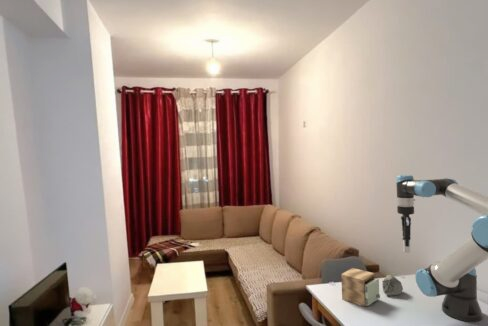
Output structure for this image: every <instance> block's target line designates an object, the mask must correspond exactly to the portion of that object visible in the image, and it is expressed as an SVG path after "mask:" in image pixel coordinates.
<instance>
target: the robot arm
mask: <svg viewBox="0 0 488 326" xmlns="http://www.w3.org/2000/svg"><path fill="white" fill-rule="evenodd" d="M395 184H396V205H397V207H396V208H397V209H396V211H397V214H399V215H402V216H400V219H401V226H402V227H401V229H402V230H401V231H402V238H401V239H402V241H403V253H407V254H408V253H411V228H412V227H411V226H412V225H411V224H412V222H411V221H412V218H411V216H410V215H414V214H415V207H414V206H415V202H416V199H415V198H414V197H420V198H432V197H433V196H443V197H445V198H447V199H449V200H452V201H453V202H455V203H458V204H460V205H462V206H463V207H464V206H465V207H466V208H468V209H469V210H472V211H474V212H476V213H478V214H481V216H479V217H477V218H476V219H475V220H474V221H473V223H472V226H471V227H472V229H471V230H470V236H471V237H469V238H468V239H467V240H465V242H463V243H462V244H461V245H459V246H458V247H457V248H455V250H453V251H452V252H451V253H450V254H449V255H447V256H446V257H445V258H444V259H442V260H441V261H437V260H436V261H434V262H432V263H431V264H429V266H428V267H425V268H420V269H418V270H417V271H416V272H415V274H414V275H415V282H416V284H417V287H418V289H419V290H420V292H421V293H422V294H424V295H425V296H427V297H430V298H431V297H434V298H435V297H440V296H444V298H443V301H442V302H441V310H442V312H443V313H444V314H445V315H447V316H448V317H450V318H453V319H455V320H459V321H464V322H470V323H471V322H473V323H474V322H479V321H482V319H483V311H482V309H481V306H480V304H479V301H478V290H477V289H478V284H477V283H478V282H477V279H478V278H477V270H476V268H477V267H478V266H479V265H481V264H482V263H484V262H485V261H486V260H488V196H486V195H485V194H482V193H480V192H477V191H474V190H472V189H470V188H468V187H465V186H463V185H460V184H459V183H458V182H457V181H456V180H455V179H454V178H447V177H446V178H438V179H437V178H436V179H420V180H417V179H414V176H413V175H412V174H398V175H397V176H396V182H395Z"/></svg>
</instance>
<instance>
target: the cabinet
mask: <svg viewBox="0 0 488 326" xmlns="http://www.w3.org/2000/svg"><path fill="white" fill-rule="evenodd" d="M340 276H341V277H340V278H341V300H344V301H345V302H349V303H352V304H354V305H355V304H356V305H358V306H361V307H367V305H366V304H365V299H366V297H365V285H366V284H367V283H369V282H371V281H372V280H374V279H376V278H375V273H374V272H371V271H366V270H362V269H359V268H354V267H351V268H350V269H348V270H346V271H344V272H342V273H341V275H340Z"/></svg>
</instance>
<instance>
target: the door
mask: <svg viewBox="0 0 488 326" xmlns="http://www.w3.org/2000/svg"><path fill="white" fill-rule="evenodd" d="M365 297H366V299H365V304H366V307H367V306H370V305H372V304H373V303H375V302H376V301H377V300H379V299H380V298H381V295H380V279H379V278H375V279H374V280H372V281H371V282H369V283H367V284H366V285H365Z"/></svg>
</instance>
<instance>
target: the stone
mask: <svg viewBox="0 0 488 326" xmlns="http://www.w3.org/2000/svg"><path fill="white" fill-rule="evenodd" d="M382 290H383V293H384V294H385V295H386V296H399V295H401V294H403V291H404V288H403V284H402V281H400V280H399V279H398V278H397V277H395V276H394V275H392V274H387V275H386V276H385V278H384V279H383V280H382Z"/></svg>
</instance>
